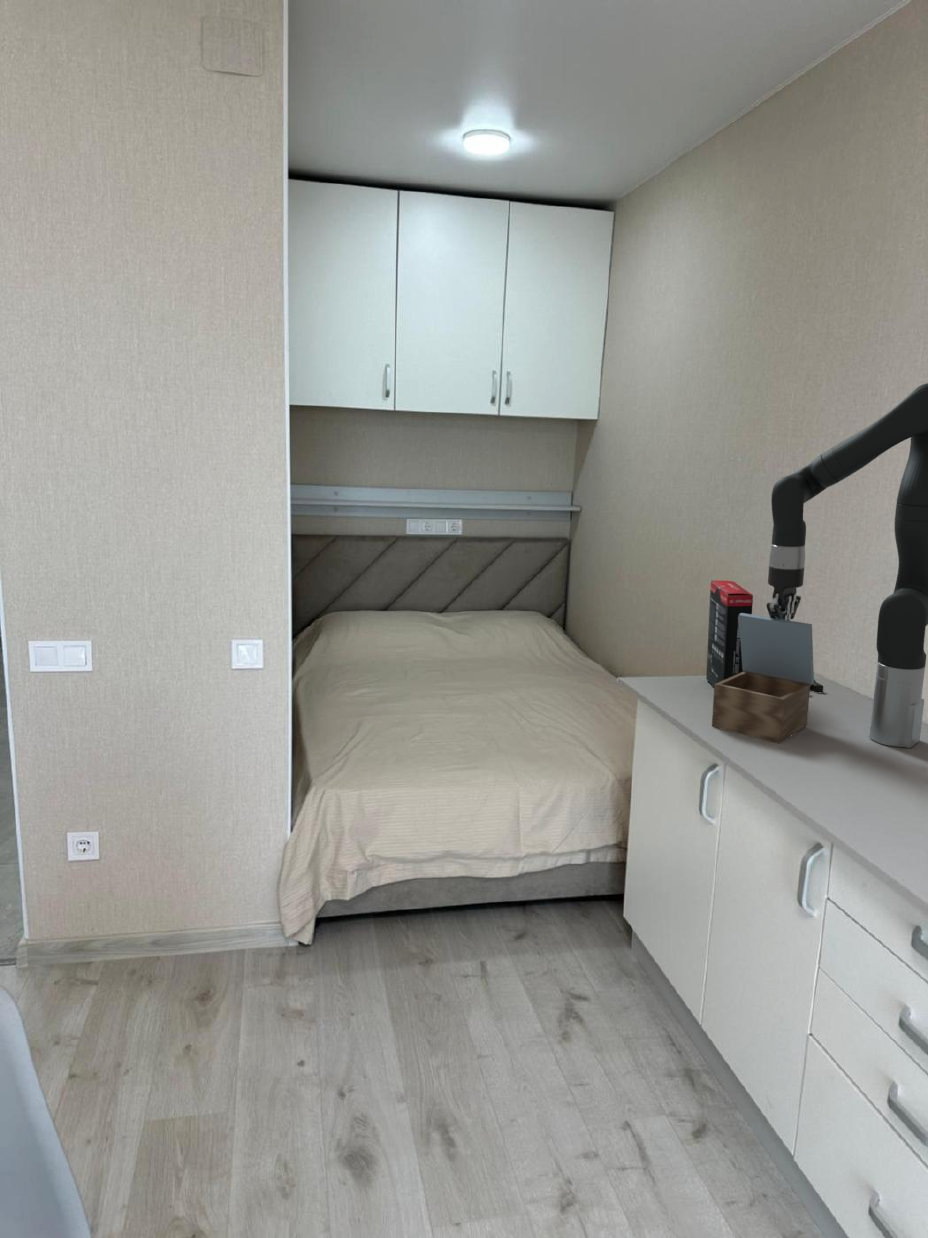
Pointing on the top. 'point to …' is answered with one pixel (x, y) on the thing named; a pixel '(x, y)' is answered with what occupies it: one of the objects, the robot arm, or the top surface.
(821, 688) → the toy gun
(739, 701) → the walnut box
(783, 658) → the lid
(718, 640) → the graphics card box
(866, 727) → the top surface
